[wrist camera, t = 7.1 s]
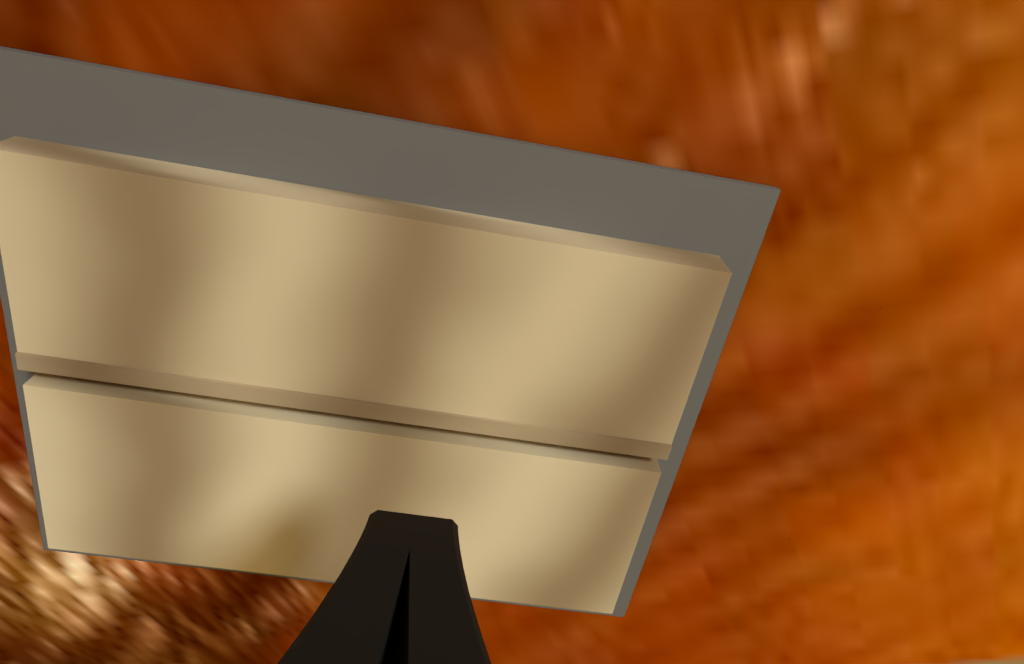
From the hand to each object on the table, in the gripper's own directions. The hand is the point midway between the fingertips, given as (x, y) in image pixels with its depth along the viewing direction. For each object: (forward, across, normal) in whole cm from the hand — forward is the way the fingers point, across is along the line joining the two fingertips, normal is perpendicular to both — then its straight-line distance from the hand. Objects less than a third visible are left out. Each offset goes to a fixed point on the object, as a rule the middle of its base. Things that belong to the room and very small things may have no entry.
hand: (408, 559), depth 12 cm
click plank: (+9, +2, +7) cm, 11 cm away
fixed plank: (+9, +2, 0) cm, 10 cm away
